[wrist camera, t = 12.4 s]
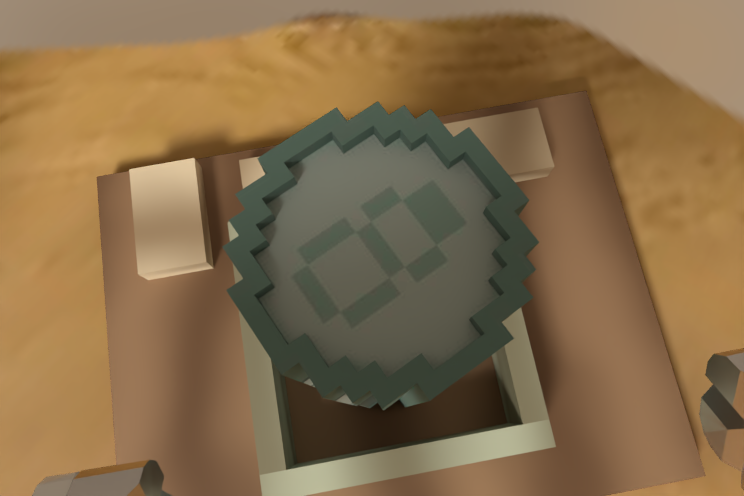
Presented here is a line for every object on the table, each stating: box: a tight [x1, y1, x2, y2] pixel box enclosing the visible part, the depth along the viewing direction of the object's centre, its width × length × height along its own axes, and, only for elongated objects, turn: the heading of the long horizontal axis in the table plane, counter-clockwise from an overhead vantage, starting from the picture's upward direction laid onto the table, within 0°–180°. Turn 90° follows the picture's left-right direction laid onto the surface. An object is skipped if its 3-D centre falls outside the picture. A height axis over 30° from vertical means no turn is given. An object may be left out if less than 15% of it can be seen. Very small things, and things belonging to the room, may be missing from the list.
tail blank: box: [129, 158, 214, 280], centre depth 28 cm, size 5×3×1 cm, turn 10°
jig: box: [97, 91, 706, 496], centre depth 26 cm, size 24×18×4 cm
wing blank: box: [239, 108, 554, 189], centre depth 28 cm, size 14×3×1 cm, turn 100°
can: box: [222, 102, 539, 411], centre depth 20 cm, size 6×6×15 cm
